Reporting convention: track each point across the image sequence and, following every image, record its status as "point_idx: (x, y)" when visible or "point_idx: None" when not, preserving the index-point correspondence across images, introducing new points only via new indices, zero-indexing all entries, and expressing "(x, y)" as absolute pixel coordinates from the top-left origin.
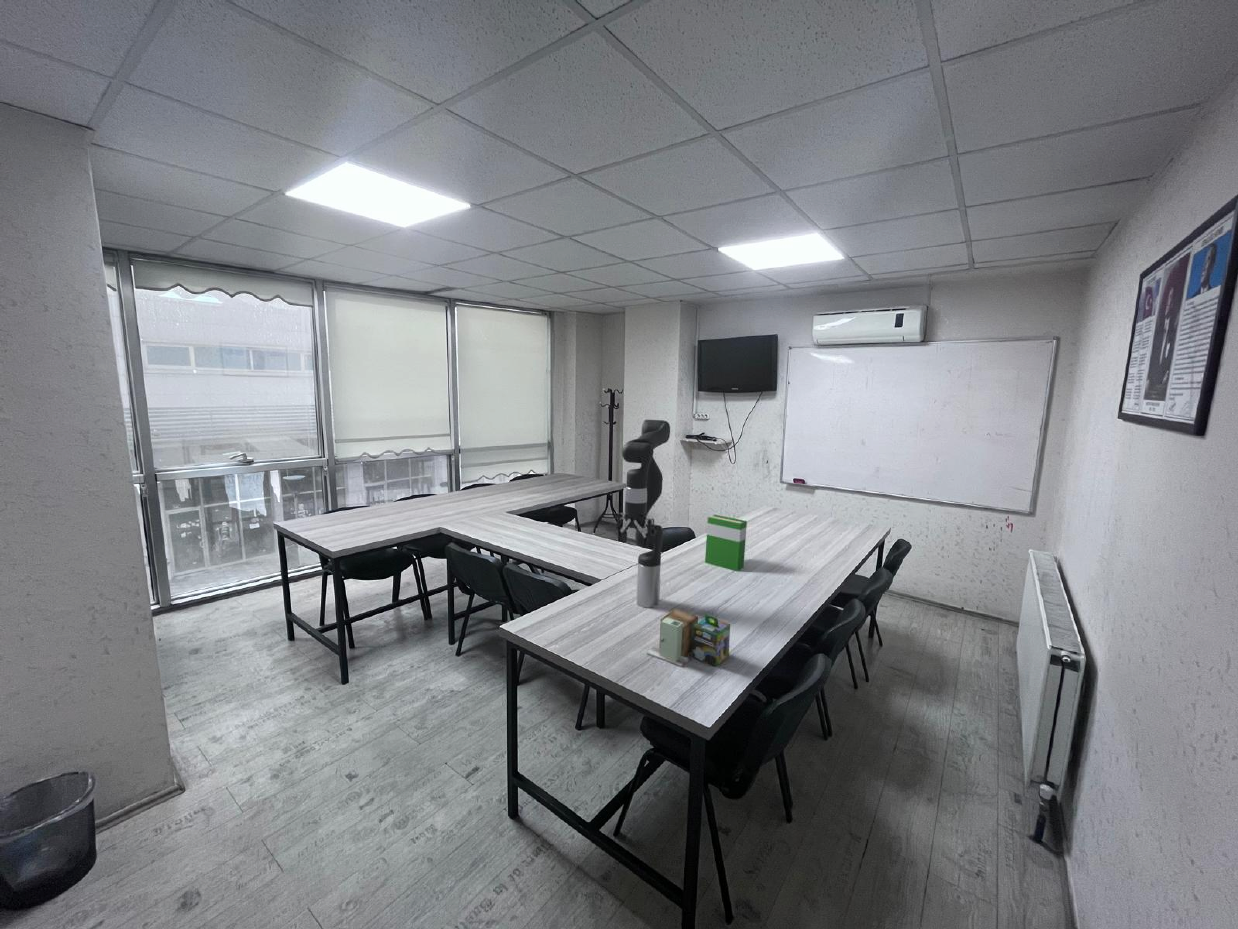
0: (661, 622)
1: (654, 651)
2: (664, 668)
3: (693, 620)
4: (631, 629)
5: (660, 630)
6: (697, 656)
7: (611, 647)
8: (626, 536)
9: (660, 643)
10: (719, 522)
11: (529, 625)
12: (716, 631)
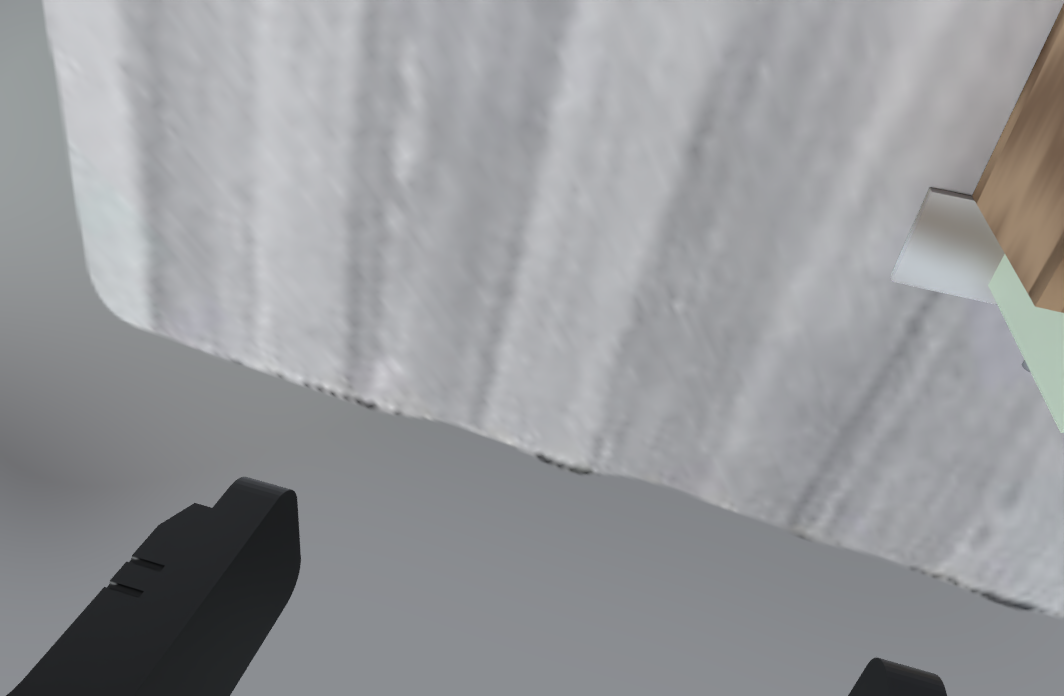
0: (1061, 428)
1: (944, 254)
2: None
3: None
4: (692, 4)
5: (1010, 260)
6: None
7: (653, 284)
8: (213, 615)
9: (1012, 329)
10: None
11: (148, 245)
12: None
